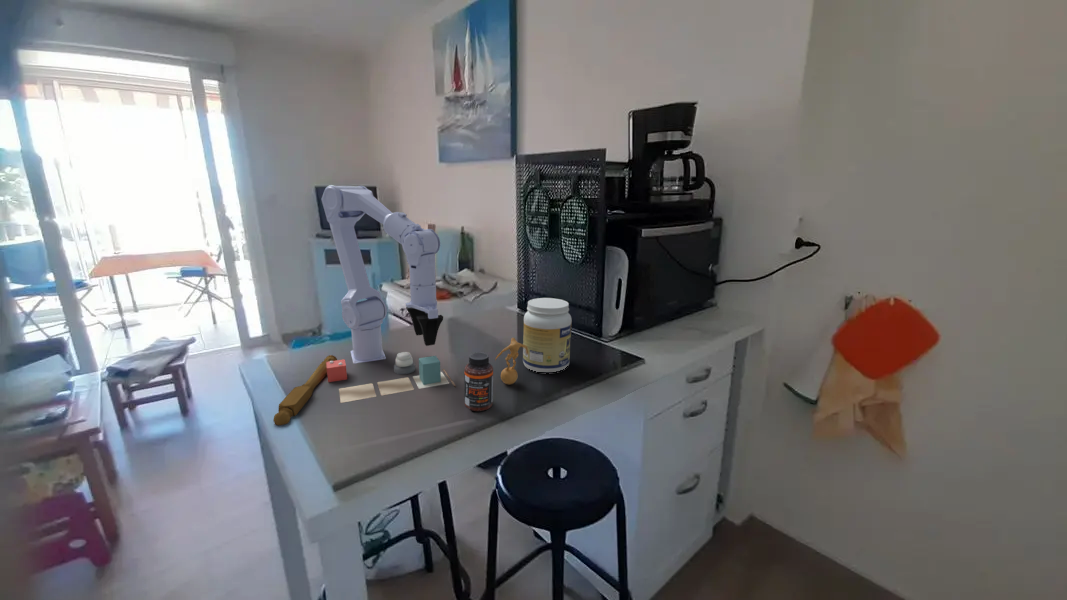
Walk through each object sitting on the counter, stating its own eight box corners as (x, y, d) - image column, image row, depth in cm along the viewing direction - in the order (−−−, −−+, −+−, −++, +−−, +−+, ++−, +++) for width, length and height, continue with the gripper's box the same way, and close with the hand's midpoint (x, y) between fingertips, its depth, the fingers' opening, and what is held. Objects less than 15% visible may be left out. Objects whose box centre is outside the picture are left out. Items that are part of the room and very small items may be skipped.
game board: (333, 389, 96) (333, 386, 95) (444, 370, 107) (444, 368, 106) (336, 409, 87) (335, 407, 87) (455, 387, 98) (455, 385, 98)
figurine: (520, 376, 104) (521, 330, 101) (532, 387, 99) (534, 338, 96) (489, 383, 100) (489, 335, 97) (500, 394, 95) (500, 343, 92)
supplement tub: (566, 377, 104) (569, 310, 100) (517, 372, 107) (518, 306, 102) (571, 358, 116) (575, 298, 112) (528, 354, 118) (529, 294, 114)
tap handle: (337, 354, 108) (286, 414, 79) (338, 365, 109) (288, 429, 80) (324, 354, 108) (269, 415, 79) (326, 365, 109) (271, 430, 80)
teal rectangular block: (436, 375, 103) (435, 355, 101) (440, 381, 99) (440, 361, 98) (419, 377, 101) (418, 358, 100) (423, 384, 97) (422, 364, 96)
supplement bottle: (466, 414, 87) (465, 362, 84) (462, 400, 92) (461, 351, 89) (495, 410, 88) (495, 359, 85) (490, 397, 94) (490, 349, 91)
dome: (394, 361, 105) (393, 352, 105) (411, 359, 107) (410, 350, 107) (397, 367, 102) (396, 358, 101) (414, 365, 104) (413, 356, 103)
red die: (327, 377, 101) (326, 360, 100) (346, 374, 103) (344, 357, 102) (328, 384, 98) (326, 366, 97) (347, 381, 99) (345, 363, 98)
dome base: (392, 369, 106) (392, 363, 106) (413, 366, 108) (412, 360, 108) (396, 377, 102) (395, 370, 101) (417, 374, 104) (416, 367, 104)
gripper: (397, 278, 102) (400, 332, 105) (414, 292, 90) (416, 352, 93) (426, 276, 105) (428, 328, 109) (446, 289, 93) (447, 347, 97)
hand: (425, 339), depth 101 cm, fingers open, 7 cm apart
